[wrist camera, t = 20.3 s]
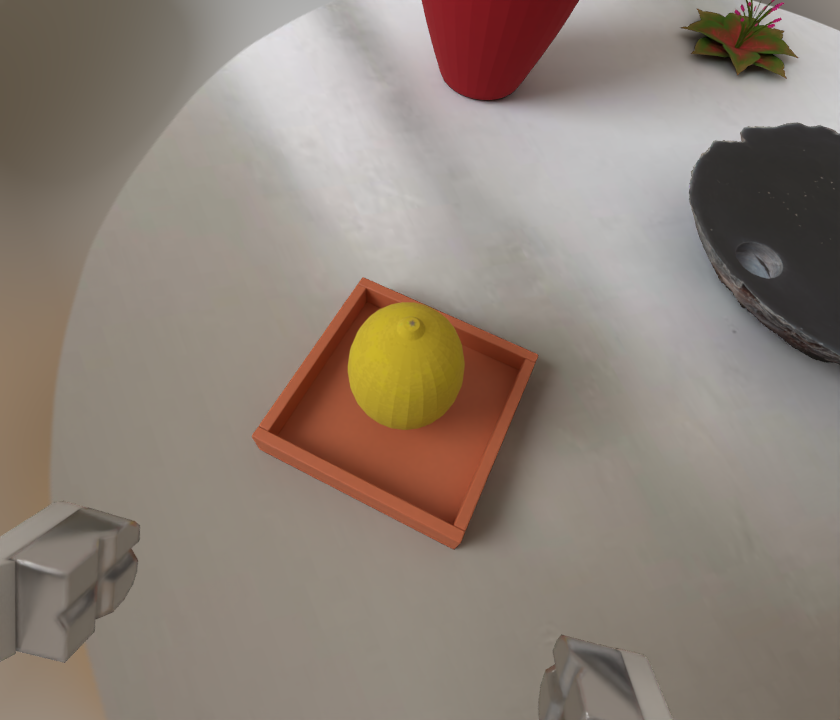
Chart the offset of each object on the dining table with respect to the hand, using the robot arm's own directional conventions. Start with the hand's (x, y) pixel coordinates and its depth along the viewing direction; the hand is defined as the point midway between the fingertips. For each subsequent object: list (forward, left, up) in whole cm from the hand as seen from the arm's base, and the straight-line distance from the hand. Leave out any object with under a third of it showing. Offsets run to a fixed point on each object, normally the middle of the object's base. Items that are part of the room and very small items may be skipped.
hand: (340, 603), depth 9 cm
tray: (+10, +3, -15) cm, 18 cm away
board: (+32, -18, -15) cm, 40 cm away
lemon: (+10, +3, -15) cm, 18 cm away
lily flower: (+60, -9, -15) cm, 63 cm away
